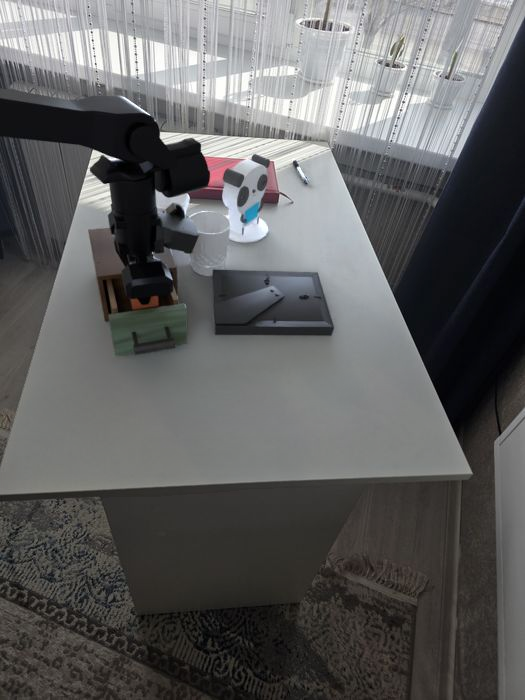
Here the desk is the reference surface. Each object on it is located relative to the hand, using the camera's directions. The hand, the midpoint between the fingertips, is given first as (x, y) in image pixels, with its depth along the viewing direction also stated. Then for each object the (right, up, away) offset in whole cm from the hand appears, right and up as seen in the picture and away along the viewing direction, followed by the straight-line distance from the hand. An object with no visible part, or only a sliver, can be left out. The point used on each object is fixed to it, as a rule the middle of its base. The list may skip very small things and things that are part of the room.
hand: (142, 295), depth 73 cm
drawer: (0, -6, +4) cm, 7 cm away
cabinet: (-4, +2, +13) cm, 13 cm away
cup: (-2, +15, +26) cm, 30 cm away
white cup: (+8, +8, +20) cm, 23 cm away
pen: (+29, +39, +53) cm, 72 cm away
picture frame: (+20, 0, +14) cm, 25 cm away
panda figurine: (+14, +18, +31) cm, 39 cm away
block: (0, -1, +1) cm, 1 cm away
